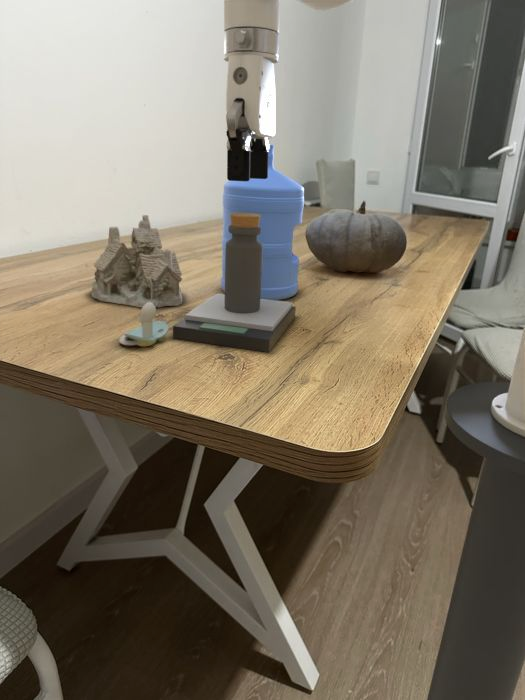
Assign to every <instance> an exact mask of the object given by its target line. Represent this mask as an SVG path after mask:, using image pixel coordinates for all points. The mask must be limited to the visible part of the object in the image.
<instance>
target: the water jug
mask: <svg viewBox="0 0 525 700" xmlns="http://www.w3.org/2000/svg"><path fill="white" fill-rule="evenodd" d="M274 149H275V144H269V151H268V152H269V159H268V178H267V179H253V178H250V180H249V181H229V180H228V181H226V182H225V183H224V184H223V193H222V207H223V208H222V236H221V250H222V257H221V259H222V263H221V264H222V265H221V278H220V279H221V280H220V282H221V283H220V285H221V289H222V291H223V292H224V293H225V254H226V243H227V242H228V241H229V240H230V239H232V234H231V233H229V232H228V227H229V226H230V225H232V224H231V218H230V214H232V213H253V214H258V215H260V216H261V217H260V221H259V225H258V226H259V227H261V234H259V235H257V240H258V241H260V242H261V243H262V245H263V255H262V277H261V297H260V299H268V300H276V301H283V300H287V299H290V298H291V297H294V296H295V295H296V294H297V292H298V289H299V268H300V267H299V266H300V259H299V257H298V256H297V255H296V254H294V253H293V241H294V230H295V228H296V226H299V225H301V224H302V223H303V213H304V212H303V211H304V208H305V188H304V186H302V185H301V184H300V183H297V182H296V181H294V180H293V179H292V178H290V177H288V176H286V175H284V174H283V173H281V172H280V171H278V170H277V169H275V167H274V158H275V154H274Z"/></svg>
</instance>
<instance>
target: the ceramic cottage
mask: <svg viewBox="0 0 525 700" xmlns="http://www.w3.org/2000/svg"><path fill="white" fill-rule="evenodd" d="M141 216H142V217H141V220H139V222H138V227H132V231H131V241H130V245H131V247H127V246H126V245H125V243H124V242H122V241H121V233H120V228H119V227H118V226H109V227H108V228H109V229H108V238H107V245H106V246H105V247H106V248H105V249H104V251H103V252H102V253H101V254H100V256H99V258H98V259H97V260H96V262H95V263H93V265H92V266H93V267H94V268H96V270H95V271H94V280H95V281H94V282H93V283H92V285H91V286H92V287H91V293H90V296H91V297H92V298H93V299H95V300H98V301H101V302H104V303H105V302H106V303H113V304H119V305H127V306H131V307H136V308H141V309H142V308H143V306H144V305H145V304H146V303H148V302H151V303H153V304H154V306H155V308H156V309H157V308H162V307H163V308H164V307H168V306H169V307H172V306H173V307H176V306H179V305H182V304H183V301H184V300H183V296H182V290H181V287H180V283H181V282H182V280H183V278H182V271H181V268H180V265H179V262H178V257H177V254H176V252H175V251H173V252H171V249H165V250H163V249H162V248H163V244H162V240H161V239H162V238H161V236H160V233H159V229H158V227H153V228H152V227H151V222H150V218H149V215H148V214H143V215H141Z"/></svg>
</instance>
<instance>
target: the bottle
mask: <svg viewBox="0 0 525 700" xmlns="http://www.w3.org/2000/svg"><path fill="white" fill-rule="evenodd" d="M260 217H261V216H260V215H258V214H253V213H232V214H230V218H231V224H232V225H230V226H229V227H228V232H229V233H231V234H232V239H230V240H229V241H228V242H227V243H226V254H225V292H224V294H225V300H224V302H225V309H226V310H228V311H231V312H235V313H253V312H256V311H258V310H259V309H260V297H261V277H262V255H263V245H262V243H261V242H260V241H258V240H257V235H259V234H261V227H259V226H258V225H259V221H260Z"/></svg>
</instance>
